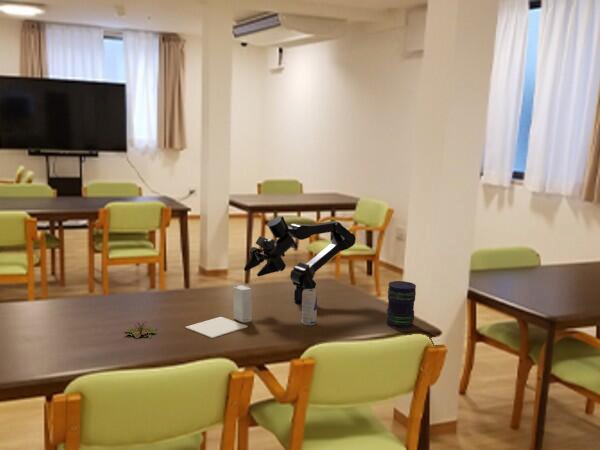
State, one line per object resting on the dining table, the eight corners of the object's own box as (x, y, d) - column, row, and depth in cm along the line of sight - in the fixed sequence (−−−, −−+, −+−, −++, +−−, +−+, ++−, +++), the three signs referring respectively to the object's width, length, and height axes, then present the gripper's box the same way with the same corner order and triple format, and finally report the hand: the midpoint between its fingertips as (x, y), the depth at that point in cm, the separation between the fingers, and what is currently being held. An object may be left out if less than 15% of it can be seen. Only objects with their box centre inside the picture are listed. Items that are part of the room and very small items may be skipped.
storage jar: (396, 330, 211) (399, 289, 209) (380, 322, 220) (382, 282, 217) (419, 327, 216) (422, 286, 213) (402, 318, 224) (405, 280, 222)
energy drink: (318, 321, 217) (319, 289, 215) (313, 326, 212) (314, 293, 210) (304, 319, 219) (305, 288, 217) (299, 324, 214) (300, 291, 212)
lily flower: (128, 327, 206) (128, 314, 206) (163, 329, 206) (163, 316, 205) (117, 340, 195) (117, 326, 194) (154, 341, 194) (154, 328, 194)
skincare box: (252, 321, 216) (253, 288, 214) (241, 323, 213) (242, 290, 211) (242, 316, 221) (243, 284, 219) (232, 318, 218) (232, 286, 216)
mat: (220, 317, 218) (220, 316, 218) (247, 327, 209) (247, 326, 209) (185, 327, 207) (185, 326, 207) (212, 338, 198) (212, 337, 197)
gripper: (257, 226, 234) (228, 251, 228) (285, 234, 219) (254, 261, 213) (270, 248, 239) (241, 273, 233) (298, 257, 225) (268, 284, 218)
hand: (250, 272), depth 224 cm, fingers open, 9 cm apart
